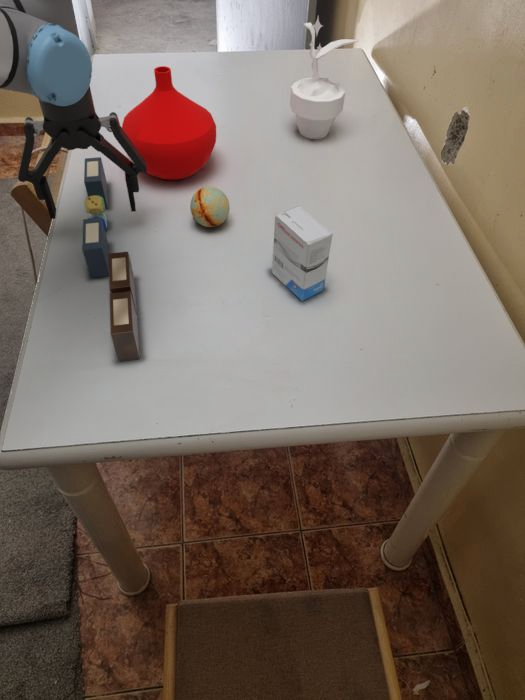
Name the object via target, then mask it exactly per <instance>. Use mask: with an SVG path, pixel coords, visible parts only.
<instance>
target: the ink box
mask: <svg viewBox="0 0 525 700" xmlns="http://www.w3.org/2000/svg"><path fill="white" fill-rule="evenodd" d="M273 230H274V232H273V247H272V248H273V249H272V262H271V263H272V264H271V273H272V274H273V275H274V276H275V277H276V278H277V279H278V280H279V281H280V282H281V283H282V284H283V285H284V286H285V287H286V288H287V289H288V290H289V291H290V292H291V293H292V294H293V295H294V296H296V297H297V298H298V299H299V300H300V301H301V302H304V301H306V300H308V299H311V298H312V297H314V296H316V295H317V294H319V293H321V292H323V291H324V289H325V284H326V283H325V282H326V278H327V277H326V276H327V270H328V264H329V258H330V252H331V246H332V240H333V233H332V232H331V231H330V230H329V229H327V228H326V227H325V226H324V225H323V224H321V222H319V220H318V219H316V218H315V217H314V216H312V215H311V214H310V213H308V212H307V211H306V210H305V209H304V208H303V207H302V206H301V205H298V206H295V207H292V208H289V209H287V210H284V211H281V212H279V213H275V214H274V229H273Z"/></svg>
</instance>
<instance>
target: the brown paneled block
mask: <svg viewBox="0 0 525 700" xmlns="http://www.w3.org/2000/svg"><path fill="white" fill-rule="evenodd" d="M108 279H109V280H108V281H109V283H108V284H109V285H108V286H109V292H110V293H109V322H110V323H109V325H110V327H109V328H110V337H111V341H112V343H113V348H114V349H115V353H116V357H117V360H118V362H119V363H120V362H126V361H127V362H128V361H134V360H140V359H141V356H140V340H139V325H138V324H139V323H138V317H137V316H138V311H137V309H138V308H137V295H136V282H135V275H134V271H133V265H132V261H131V258H130V253H129V251H120V252H111V253H110V252H109V276H108Z"/></svg>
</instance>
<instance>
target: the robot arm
mask: <svg viewBox="0 0 525 700" xmlns="http://www.w3.org/2000/svg"><path fill="white" fill-rule="evenodd" d="M92 63H93V62H92V57H91V55H90V53H89V50H88V48H87V47H86V45H85V43H84V42H83V41H82V40H81V39H80V34H79V29H78V24H77V19H76V14H75V9H74V4H73V0H0V90H4V91H5V90H6V91H13V92H16V93H23V94H28V95H31V96H34V97H35V98H37V99H38V103H39V107H40V110H41V113H42V117H43V120H34V118H32V117H30V116H27V117H26V118H25V119H24V123H23V131H24V136H25V141H24V144H23V145H24V146H23V150H22V156H21V160H20V163H19V169H18V176H17V180H18V181H19V182H21V183H25V182H28V183H31V184H32V186H33V189H34V192H35V195H36V198H37V200H39V201H44V203H45V206H46V208H47V211H48V214H49V218H50V219H51V220H52V219H53V220H54V219H56V217H57V207H56V204H55V201H54V198H53V195H52V191H51V188H50V185H49V181H48V179H47V176H46V175H45V174H46V172H47V171H48V169H49V168H50V165H51V164H52V163H53V161H54V159H55V158H56V156H57V155H58V154H59V153H60V152H61V149H62V148H63V149H65V150H67V151H73V150H76V149H79V150H88V149H89V148H90V147H92V148H93V149H94V150H95V151H96V152H100V153H101V154H102V155H103V156H105V157H106V158H107V159H108V160H110V161H111V162H112V163H113V164H114V165H116V166H117V167H118V168H119V169H120V170H122V171H123V172H124V180H125V183H126V184H125V185H126V189H127V190H126V191H127V195H128V201H129V207H130V212H131V213H133V212H134V213H135V212H137V208H136V199H135V193H139V191H140V185H139V184H140V183H139V177H138V175H139V174H141V173H142V174H145V173H147V172H146V171H147V167H146V161H145V159H144V158H143V156H142V155H141V154H140V152H139V151H138V149H137V148H136V147H135V145H134V144H133V142H132V141H131V140H130V138H129V137H128V136H127V134H126V133H125V131H124V130H123V129H122V125H121V123H120V120H119V117H118V114H117V113H116V112H113V111H112V112H110V113H109V115H107V116H101V117H99V116H98V114H97V112H96V108H95V104H94V99H93V94H92V90H91V81H92V76H93V75H92V74H93V73H92V72H93V64H92ZM101 128H105V130H107V132H109V133H112V135H113V136H114V139H115V140H116V141H117V143H118V144H119V145H120V146H121V148H122V149H123V150H124V152H125V153H126V155H127V156H128V157H129V158H128V157H127V156H126V155H124V153H122V152H121V151H120V150H119V149H118V148H116V146H114V145H113V144H112V143H111V142H109V141H108V140H107V139H106V137H104V136H103V134H102V133H100V130H101ZM42 131H44V133H46V135H47V136H49V138H50V140H49V143H48V145H47V147H46V148H45V149H44V152H43V153H42V155H41V156H40V158H39V159H38V161H37V163H36V165H35V166H34V168H33V169H31V170H29V169H30V164H31V161H32V156H33V151H34V147H35V140H36V138H37V137H39V136H41V132H42Z"/></svg>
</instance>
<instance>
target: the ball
mask: <svg viewBox="0 0 525 700" xmlns="http://www.w3.org/2000/svg"><path fill="white" fill-rule="evenodd" d="M189 207H190V208H189V209H190V214H191V215H192V217H193V219H194V220H195V221H196V222H197V223H198V224H199V225H201V226H203V227H206V228H214V227H215V228H216V227H218V226H220V225H222V224H223V223H224V222H225V221H226V220H227V218H228V216H229V213H230V207H231V206H230V201H229V199H228V197H227V195H226V193H225V192H224V191H223V190H221V189H220V188H218V187H216V186H204V187H201V188H200V189H198V190H196V192H195V193H194V194H193V196H192V197H191V199H190V206H189Z"/></svg>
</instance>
